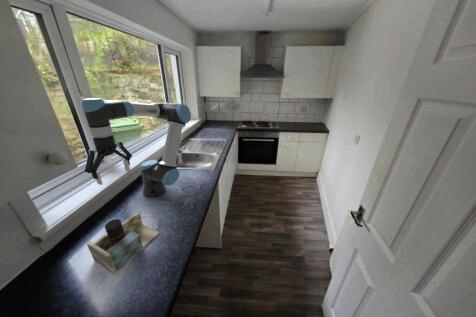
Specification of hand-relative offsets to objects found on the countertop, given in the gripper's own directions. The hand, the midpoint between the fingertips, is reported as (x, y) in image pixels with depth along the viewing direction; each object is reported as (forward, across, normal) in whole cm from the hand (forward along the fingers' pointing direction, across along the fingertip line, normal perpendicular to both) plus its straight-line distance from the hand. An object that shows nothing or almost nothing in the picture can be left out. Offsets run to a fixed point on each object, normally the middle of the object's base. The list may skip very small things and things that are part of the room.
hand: (115, 177), depth 86 cm
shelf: (+31, +9, +13) cm, 35 cm away
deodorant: (+30, +12, +11) cm, 34 cm away
